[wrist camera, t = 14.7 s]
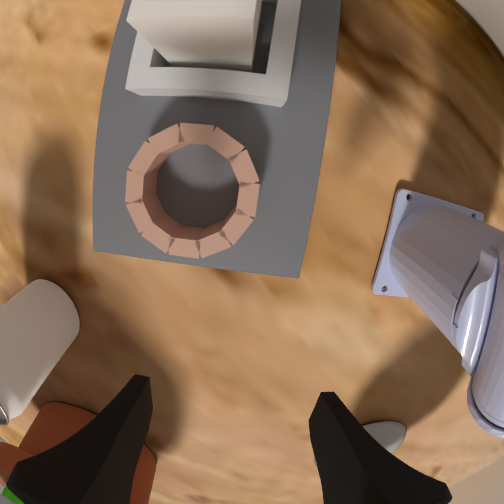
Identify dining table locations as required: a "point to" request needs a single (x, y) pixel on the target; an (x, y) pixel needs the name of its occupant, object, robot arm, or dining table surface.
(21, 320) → the can
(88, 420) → the potted cactus
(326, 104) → the socket board
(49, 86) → the dining table surface
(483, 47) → the dining table surface
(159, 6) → the square peg
